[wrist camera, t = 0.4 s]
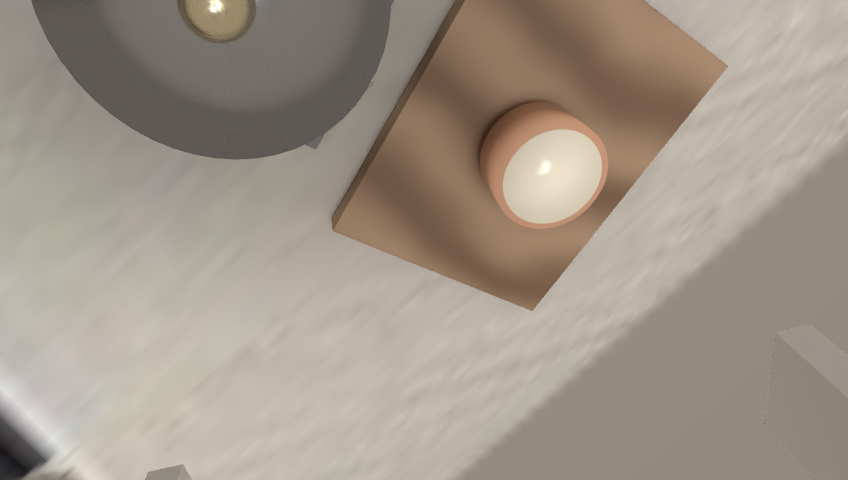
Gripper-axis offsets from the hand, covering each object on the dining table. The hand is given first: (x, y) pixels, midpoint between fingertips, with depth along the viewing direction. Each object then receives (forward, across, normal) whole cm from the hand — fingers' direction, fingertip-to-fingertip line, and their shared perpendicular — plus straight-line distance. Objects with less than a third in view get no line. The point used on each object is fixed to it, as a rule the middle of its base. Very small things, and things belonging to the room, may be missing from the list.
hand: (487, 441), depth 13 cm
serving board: (+24, +7, -2) cm, 25 cm away
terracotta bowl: (+23, +7, -2) cm, 24 cm away
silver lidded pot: (+22, -6, +11) cm, 25 cm away
